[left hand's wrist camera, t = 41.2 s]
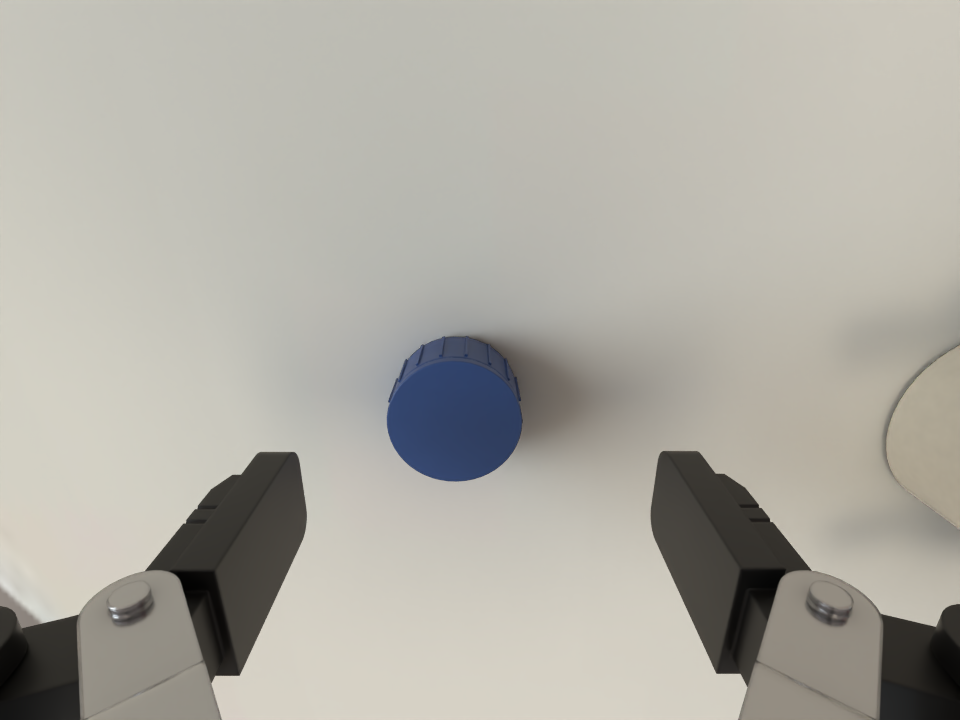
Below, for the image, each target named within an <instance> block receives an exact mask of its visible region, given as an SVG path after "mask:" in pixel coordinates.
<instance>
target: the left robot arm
mask: <svg viewBox="0 0 960 720" xmlns="http://www.w3.org/2000/svg"><path fill="white" fill-rule="evenodd" d="M306 521H307V511H306V504H305V497H304V490H303V483H302V476H301V470H300V463H299V458H298V456H297V454H296V453H295V452H259V453H258V454H257V455H256V456H255V457H254V459H253V460H252V461H251V463H250V464H249V465H248V466H247V468H246V469H245V470H244V472H243V473H242V474H241V475H232V476H230V477H229V478H227V479H226V480H224V481H223V482H221V483H220V484H218V485H217V486H215V487H214V488H212V489H211V490H210V492H209V493H208V494H207V495H206V496H205V498H204V499H203V500H202V501H201V503H200V504H199V505H198V509H195V510H194V511H193V512H192V514H191V515H190V516H189V517H188V519H187V520H186V524H183V525H182V526H181V527H180V529H179V530H178V531H177V532H176V533H175V535H174V536H173V537H172V538H171V540H170V541H169V542H168V543H167V545H166V546H165V547H164V548H163V549H162V551H161V552H160V553H159V554H158V556H157V557H156V558H155V559H154V561H153V562H152V563H151V564H150V565H149V567H148V568H147V569H146V570H145V571H144V572H140V573H136V574H133V575H130V576H127V577H124V578H122V579H120V580H118V581H116V582H114V583H112V584H110V585H109V586H107V587H105V588H104V589H102V590H101V591H100V592H98V593H97V594H96V595H95V596H94V597H92V598H91V599H90V600H89V601H88V602H87V604H86V605H85V606H84V607H83V609H82V610H81V612H80V614H79V615H76V616H72V617H68V618H64V619H60V620H56V621H51V622H47V623H43V624H39V625H34V626H30V627H26V628H21V626H20V624H19V621H18V619H17V617H16V614H15V613H14V612H13V611H12V610H11V609H9V608H7V607H2V606H0V720H222V719H221V715H220V712H219V708H218V705H217V702H216V698H215V695H214V691H213V688H212V685H211V683H212V681H213V679H214V677H215V676H240V674H241V671H242V669H243V667H244V665H245V663H246V661H247V659H248V656H249V654H250V652H251V650H252V648H253V646H254V644H255V641H256V639H257V637H258V635H259V633H260V631H261V628H262V626H263V624H264V622H265V620H266V618H267V616H268V613H269V611H270V609H271V607H272V605H273V603H274V600H275V598H276V596H277V594H278V592H279V590H280V588H281V585H282V583H283V581H284V579H285V577H286V575H287V572H288V570H289V568H290V566H291V564H292V562H293V560H294V557H295V555H296V553H297V551H298V549H299V547H300V545H301V542H302V540H303V537H304V534H305V529H306ZM651 526H652V531H653V535H654V538H655V541H656V543H657V545H658V547H659V549H660V551H661V554H662V556H663V558H664V560H665V562H666V565H667V567H668V569H669V571H670V573H671V575H672V578H673V580H674V582H675V584H676V586H677V588H678V591H679V593H680V595H681V597H682V599H683V602H684V604H685V606H686V608H687V610H688V612H689V615H690V617H691V619H692V621H693V623H694V626H695V628H696V630H697V632H698V634H699V636H700V639H701V641H702V643H703V645H704V647H705V649H706V652H707V654H708V656H709V658H710V660H711V663H712V665H713V667H714V669H715V671H716V673H717V674H741V675H742V677H743V679H744V681H745V683H746V685H747V687H748V688H747V691H746V695H745V698H744V702H743V705H742V708H741V712H740V715H739V719H738V720H960V604H956V605H951V606H949V607H947V608H946V609H945V610H944V611H943V612H942V615H941V617H940V619H939V622H938V624H937V626H936V627H933V626H929V625H925V624H921V623H916V622H912V621H908V620H904V619H900V618H895V617H891V616H887V615H883V614H880V612H879V610H878V609H877V607H876V606H875V605H874V604H873V602H872V601H871V600H870V599H869V598H868V597H866V596H865V595H864V594H863V593H862V592H860V591H859V590H858V589H856V588H855V587H853V586H851V585H850V584H848V583H846V582H844V581H842V580H840V579H838V578H836V577H833V576H830V575H827V574H824V573H820V572H816V571H812V570H811V569H810V568H809V567H808V565H807V564H806V563H805V562H804V560H803V559H802V558H801V557H800V556H799V554H798V553H797V552H796V551H795V549H794V548H793V547H792V546H791V544H790V543H789V542H788V541H787V539H786V538H785V537H784V536H783V534H782V533H781V532H780V531H779V529H778V528H777V527H776V526H775V524H774V523H773V522H770V518H769V517H768V516H767V514H766V513H765V512H764V511H763V509H762V508H759V505H758V503H757V502H756V501H755V500H754V498H753V497H752V496H751V495H750V493H749V492H748V491H747V490H746V488H744V487H743V486H741V485H740V484H738V483H737V482H735V481H734V480H733V479H731V478H730V477H728V476H727V475H725V474H715V472H714V471H713V470H712V468H711V467H710V466H709V464H708V463H707V462H706V460H705V459H704V458H703V456H702V455H701V454H700V453H699V452H697V451H663V452H661V454H660V456H659V458H658V464H657V471H656V478H655V485H654V492H653V499H652V505H651Z"/></svg>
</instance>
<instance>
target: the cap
mask: <svg viewBox="0 0 960 720" xmlns="http://www.w3.org/2000/svg"><path fill="white" fill-rule="evenodd" d="M519 401H521V398H520V393H519V388H518V383H517V378H516V377H514V375H513V372H512V370H511V368H510V366H509V365H508V362H507V359H506V358H505V359H504V358H503V357H502V356H501V355H500V354H499V353H498V352H497V351H496V350H494V349H493V348H492V347H490V344H488V345H487V344H485V343H482V342H480V341H477V340H475V339H471V338H469V337H468V336H466V338H465V337H447V338H445V337H442V339H438V340H435V341H432V342H430V343H428V344H426V345H421V347H420V349H418V350H417V351H416V352H415V353H414V354H412V356H411V357H410V358H409V359H408V360H407V359H406V360H405V362H404V365H403V367H402V370H401V373H400V376H399V378H397V379H396V382H395V384H394V387H393V390H392V392H391V395H390V398H389V401H388V402H389V403H390V404H389V407H388V413H387V428H388V433H389V436H390V440H391V442H392V444H393V446H394V448H395V450H396V451H397V453H398V454H399V455H400V457H401V458H402V459H403V460H404V461H405V462H406V463H407V464H408V465H409V466H411V467H412V468H414V469H415V470H416V471H418V472H420V473H422V474H424V475H426V476H429V477H431V478H435V479H439V480H444V481H467V480H472V479H476V478H479V477H482V476H484V475H486V474H489V473H490V472H492V471H494V470H495V469H497V468H498V467H499V466H501V465H502V464H503V463H504V462H505V461H506V460H507V459H508V458H509V456H510V455H511V454H512V452H513V451H514V449H515V447H516V445H517V443H518V441H519V438H520V434H521V428H522V421H523V420H522V414H521V409H520V403H519Z"/></svg>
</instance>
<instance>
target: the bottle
mask: <svg viewBox="0 0 960 720" xmlns="http://www.w3.org/2000/svg"><path fill="white" fill-rule="evenodd" d="M886 453H887V460H888V463H889V467H890V469H891V471H892V473H893V475H894V477H895V479H896V480H897V481H898V483H899V484H900V485H901V486H902V487H903V488H904V489H905V490H906V491H907V492H909V493H910V494H911V495H913V496H914V497H915V498H917V499H918V500H920V501H921V502H922V503H924V504H925V505H926V506H928V507H929V508H930V509H932V510H933V511H934V512H936V513H937V514H938V515H940V516H941V517H943V518H944V519H945V520H947V521H948V522H949V523H951V524H952V525H953V526H955V527H956V528H957V529H959V530H960V345H959V346H957V347H955V348H954V349H952V350H950V351H949V352H947V353H946V354H944V355H943V356H941V357H940V358H938V359H937V360H936V361H935V362H933V363H932V364H931V365H930V366H929V367H927V368H926V369H925V370H924V371H923V372H922V373H921V374H920V375H919V376H918V377H917V378H916V379H915V380H914V382H913V383H912V384H911V385H910V387H909V388H908V389H907V390H906V392H905V393H904V395H903V396H902V398H901V399H900V401H899V403H898V405H897V407H896V409H895V411H894V413H893V415H892V418H891V421H890V424H889V427H888V432H887V438H886Z"/></svg>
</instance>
